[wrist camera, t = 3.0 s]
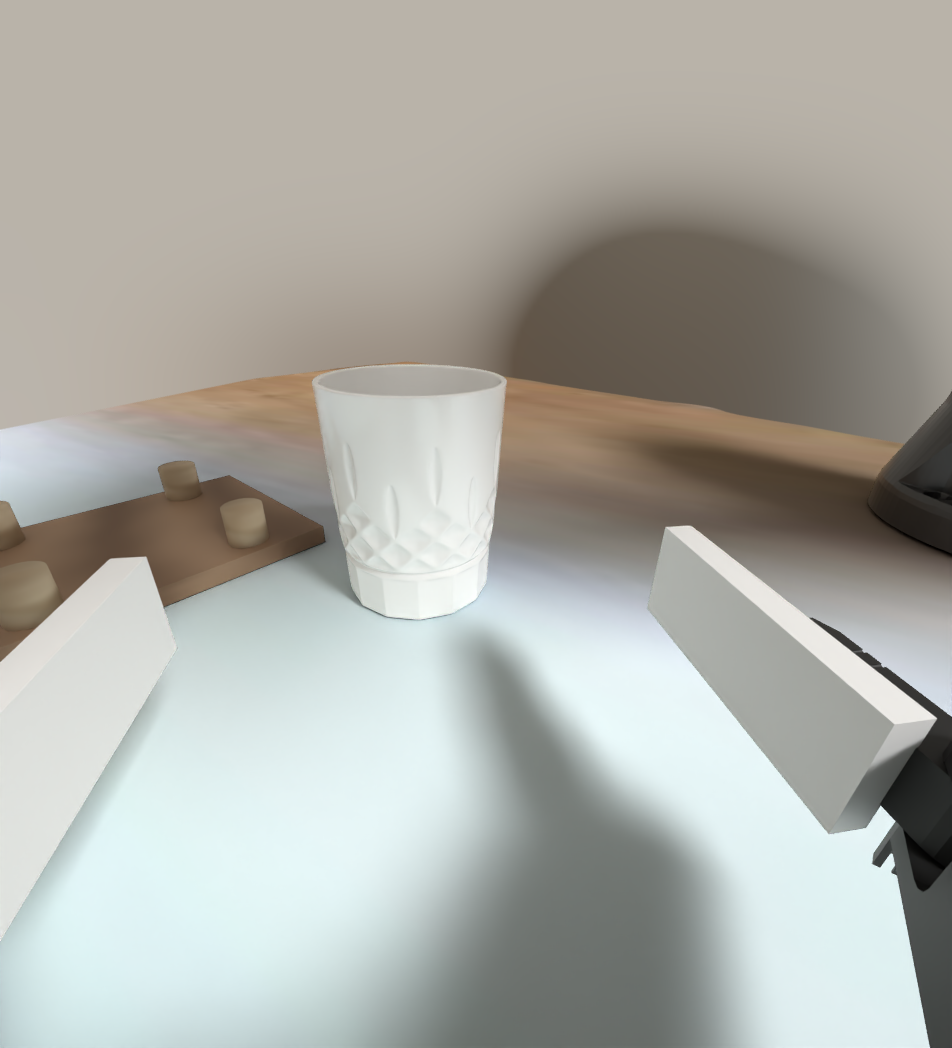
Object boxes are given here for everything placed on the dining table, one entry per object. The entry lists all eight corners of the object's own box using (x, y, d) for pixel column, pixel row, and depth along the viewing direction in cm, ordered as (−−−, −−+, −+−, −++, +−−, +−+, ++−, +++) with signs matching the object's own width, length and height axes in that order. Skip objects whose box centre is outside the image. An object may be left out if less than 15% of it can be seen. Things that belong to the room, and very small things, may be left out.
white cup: (305, 591, 23) (268, 379, 18) (410, 530, 29) (401, 359, 24) (435, 655, 19) (427, 406, 14) (524, 569, 25) (539, 375, 20)
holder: (232, 488, 34) (223, 448, 33) (325, 541, 27) (318, 494, 26) (-93, 576, 23) (-127, 522, 22) (-77, 704, 16) (-126, 636, 15)
